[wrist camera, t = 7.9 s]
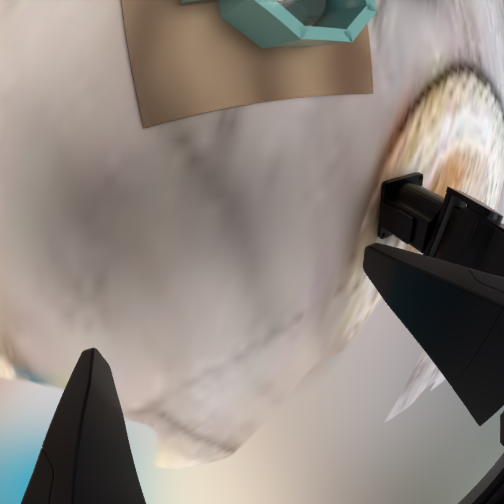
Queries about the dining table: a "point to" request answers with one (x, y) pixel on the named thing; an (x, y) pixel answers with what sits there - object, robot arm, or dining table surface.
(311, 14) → the plunger
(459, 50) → the dining table surface
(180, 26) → the board
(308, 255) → the dining table surface
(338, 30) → the teal handled cup
